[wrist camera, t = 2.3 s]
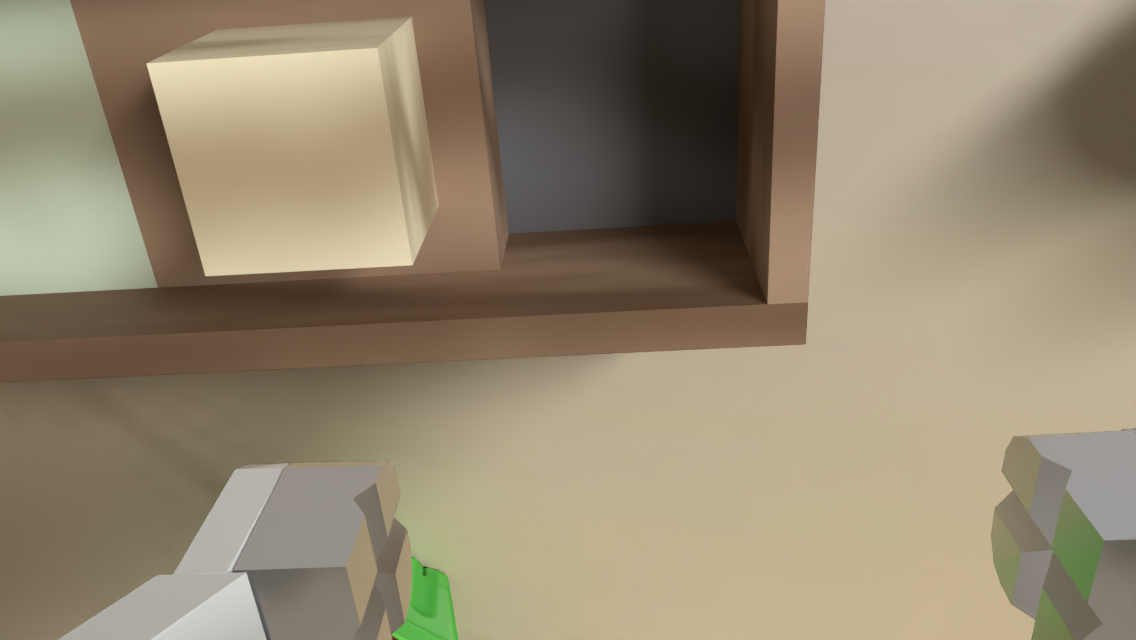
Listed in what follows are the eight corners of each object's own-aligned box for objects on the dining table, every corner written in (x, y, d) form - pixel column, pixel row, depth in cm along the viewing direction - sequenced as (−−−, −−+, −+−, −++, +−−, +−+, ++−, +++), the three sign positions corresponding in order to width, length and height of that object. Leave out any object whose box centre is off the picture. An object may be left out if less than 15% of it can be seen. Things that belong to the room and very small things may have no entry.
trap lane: (766, 251, 29) (805, 344, 23) (-259, 305, 30) (-440, 402, 25) (779, -158, 23) (834, -159, 18) (-458, -62, 25) (-740, -37, 20)
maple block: (438, 205, 25) (412, 265, 21) (260, 216, 25) (205, 276, 22) (411, 16, 23) (377, 48, 19) (215, 29, 23) (146, 63, 19)
